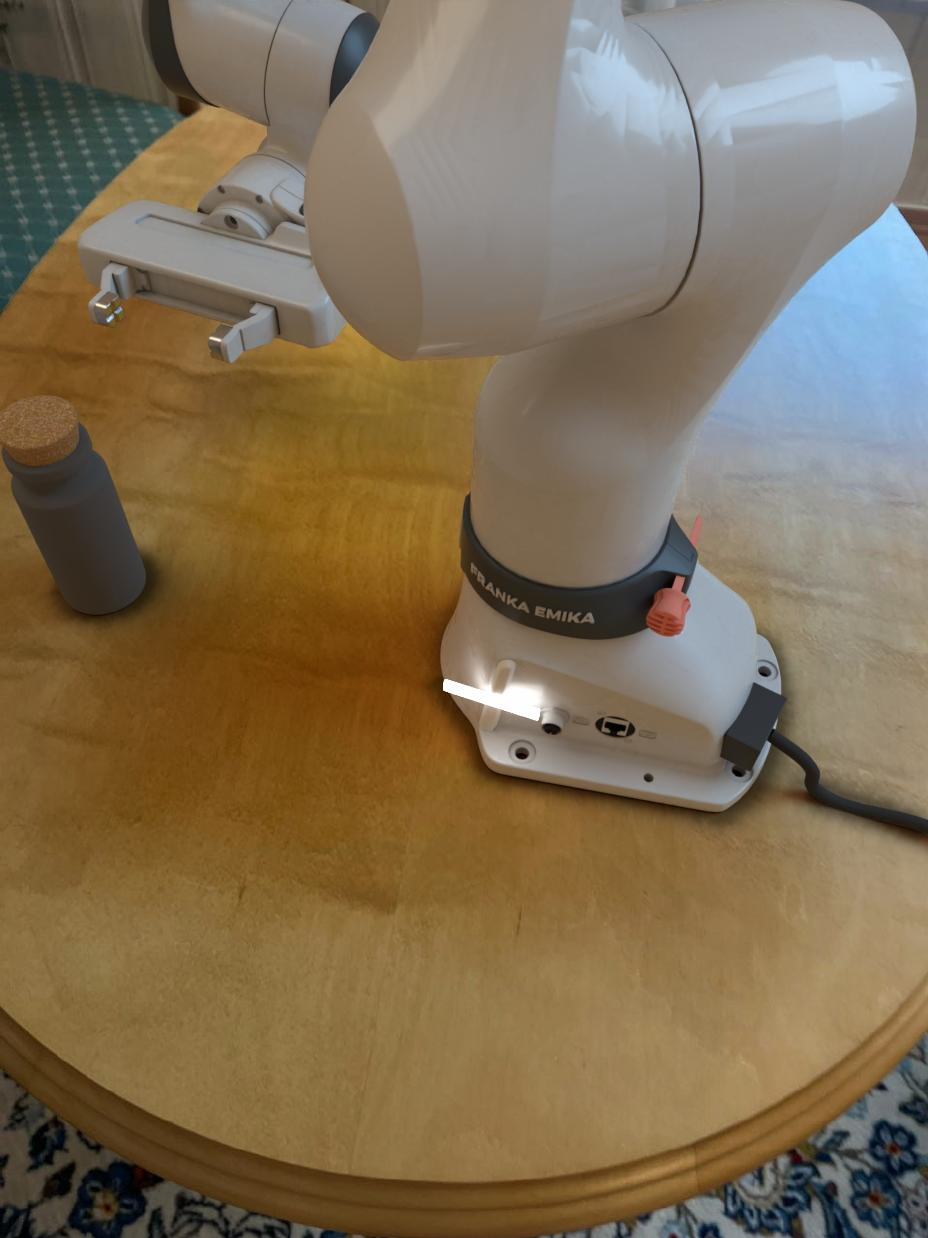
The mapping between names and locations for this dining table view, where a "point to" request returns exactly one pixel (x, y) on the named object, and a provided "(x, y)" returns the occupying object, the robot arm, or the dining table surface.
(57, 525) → the bottle
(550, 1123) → the dining table surface
